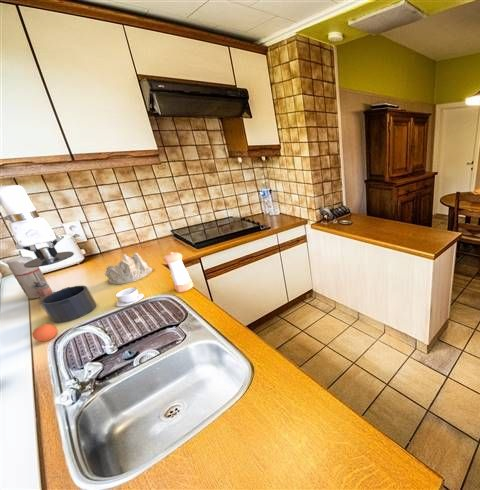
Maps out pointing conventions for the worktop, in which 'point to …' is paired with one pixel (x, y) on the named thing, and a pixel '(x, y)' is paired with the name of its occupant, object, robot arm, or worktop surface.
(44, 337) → the ball
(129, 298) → the teacup
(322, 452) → the worktop surface
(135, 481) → the worktop surface
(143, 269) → the jagged rock
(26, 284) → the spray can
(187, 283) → the salt shaker
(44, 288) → the lighter
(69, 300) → the pot
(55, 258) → the pot lid
